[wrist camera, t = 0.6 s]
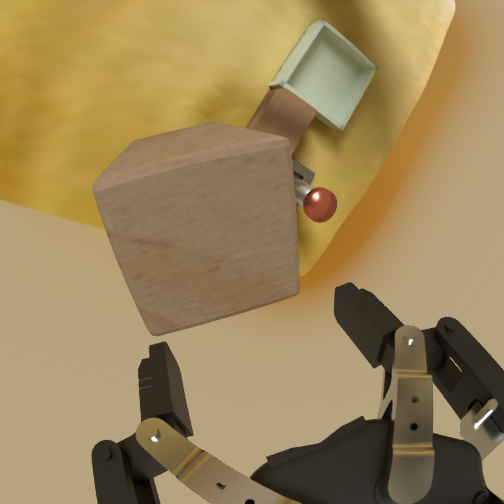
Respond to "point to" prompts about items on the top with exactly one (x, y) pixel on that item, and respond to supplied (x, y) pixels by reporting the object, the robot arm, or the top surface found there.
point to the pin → (315, 201)
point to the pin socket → (303, 172)
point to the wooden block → (202, 223)
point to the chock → (283, 115)
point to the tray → (326, 74)
